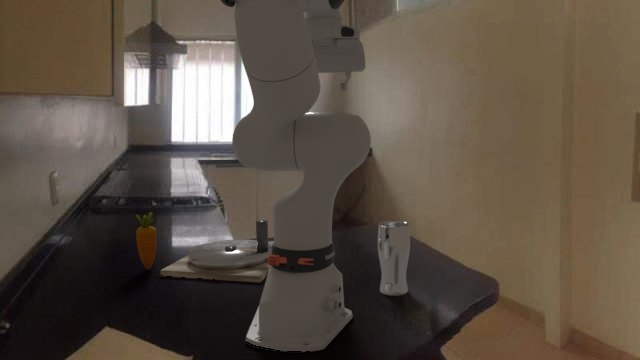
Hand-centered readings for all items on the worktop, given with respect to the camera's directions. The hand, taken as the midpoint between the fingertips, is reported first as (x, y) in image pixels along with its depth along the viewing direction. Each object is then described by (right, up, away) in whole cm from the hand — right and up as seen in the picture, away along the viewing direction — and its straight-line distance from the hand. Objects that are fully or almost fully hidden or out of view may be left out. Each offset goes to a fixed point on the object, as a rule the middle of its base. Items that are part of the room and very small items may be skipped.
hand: (324, 91), depth 116 cm
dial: (-25, -43, +9) cm, 50 cm away
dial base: (-25, -44, +10) cm, 52 cm away
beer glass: (+15, -47, -13) cm, 51 cm away
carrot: (-45, -45, +5) cm, 64 cm away
